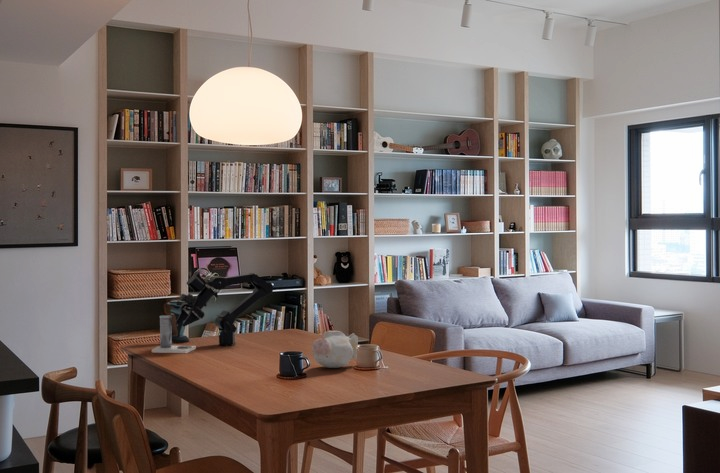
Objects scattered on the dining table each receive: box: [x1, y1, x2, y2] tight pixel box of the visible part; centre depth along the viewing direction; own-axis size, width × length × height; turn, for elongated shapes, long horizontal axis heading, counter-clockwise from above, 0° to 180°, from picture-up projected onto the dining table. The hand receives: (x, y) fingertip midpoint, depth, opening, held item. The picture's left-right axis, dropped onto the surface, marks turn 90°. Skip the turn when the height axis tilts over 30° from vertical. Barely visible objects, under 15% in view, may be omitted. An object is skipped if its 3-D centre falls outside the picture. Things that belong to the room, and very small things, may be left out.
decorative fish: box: [311, 330, 359, 369], centre depth 304 cm, size 16×19×15 cm
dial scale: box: [151, 345, 197, 354], centre depth 350 cm, size 16×12×2 cm
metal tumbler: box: [159, 314, 173, 348], centre depth 349 cm, size 5×5×14 cm
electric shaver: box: [163, 299, 190, 344], centre depth 374 cm, size 9×12×20 cm
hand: (179, 325), depth 352 cm, fingers open, 9 cm apart
